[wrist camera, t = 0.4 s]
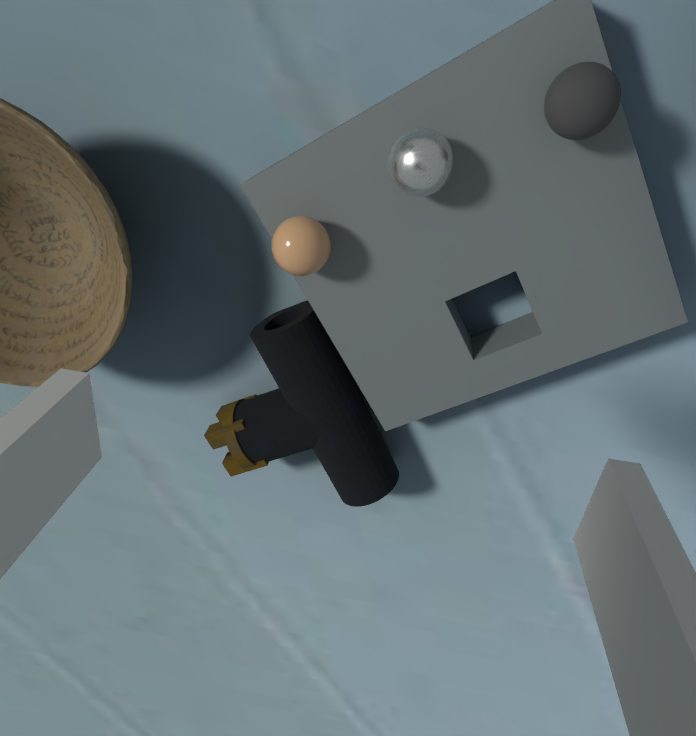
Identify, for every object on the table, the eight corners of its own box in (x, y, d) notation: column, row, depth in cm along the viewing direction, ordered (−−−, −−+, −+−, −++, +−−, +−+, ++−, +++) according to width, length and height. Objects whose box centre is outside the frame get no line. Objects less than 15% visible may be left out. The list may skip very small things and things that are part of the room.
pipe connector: (262, 533, 44) (160, 378, 38) (277, 489, 49) (188, 344, 43) (397, 498, 41) (308, 322, 35) (400, 454, 45) (321, 292, 40)
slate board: (256, 174, 36) (240, 185, 33) (570, -10, 29) (585, -17, 26) (389, 405, 43) (385, 431, 40) (666, 300, 36) (688, 322, 33)
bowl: (159, 372, 44) (107, 430, 37) (-65, 294, 44) (-160, 338, 37) (200, 134, 35) (141, 152, 28) (-83, 31, 34) (-214, 23, 28)
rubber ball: (529, 84, 28) (539, 87, 25) (597, 47, 27) (617, 45, 24) (551, 148, 29) (564, 157, 26) (618, 115, 28) (639, 121, 25)
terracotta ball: (269, 225, 34) (253, 241, 31) (317, 199, 32) (305, 213, 30) (297, 274, 35) (284, 293, 32) (345, 250, 34) (336, 269, 31)
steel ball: (379, 144, 31) (373, 152, 28) (437, 112, 29) (437, 117, 26) (406, 200, 32) (403, 214, 29) (462, 172, 31) (465, 183, 28)
